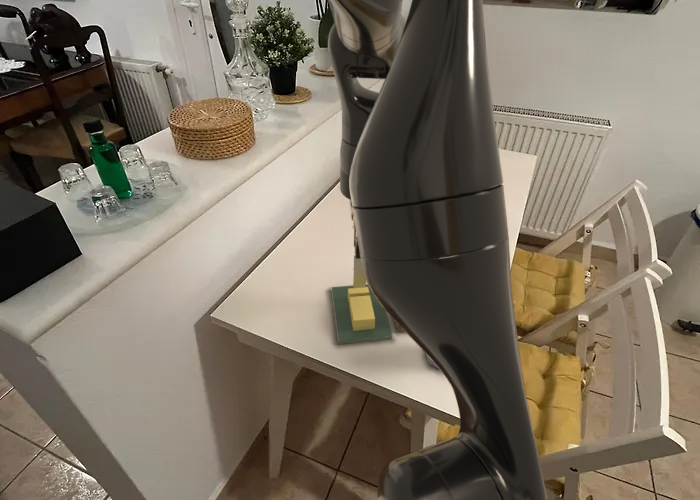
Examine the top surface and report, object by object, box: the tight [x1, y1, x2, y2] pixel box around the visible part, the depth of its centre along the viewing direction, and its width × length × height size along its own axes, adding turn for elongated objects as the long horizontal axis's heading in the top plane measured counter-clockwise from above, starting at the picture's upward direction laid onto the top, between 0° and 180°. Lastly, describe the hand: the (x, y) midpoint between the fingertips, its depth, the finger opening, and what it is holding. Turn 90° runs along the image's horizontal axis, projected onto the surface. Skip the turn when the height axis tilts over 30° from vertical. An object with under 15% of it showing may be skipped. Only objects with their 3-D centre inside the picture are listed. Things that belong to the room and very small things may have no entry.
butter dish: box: [330, 283, 393, 345], centre depth 85 cm, size 14×10×1 cm
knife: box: [352, 232, 367, 288], centre depth 78 cm, size 2×2×14 cm
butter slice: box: [348, 287, 369, 302], centre depth 85 cm, size 2×4×3 cm, turn 97°
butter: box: [349, 295, 375, 331], centre depth 82 cm, size 6×4×3 cm, turn 7°
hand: (361, 251), depth 76 cm, fingers closed on knife, 2 cm apart
